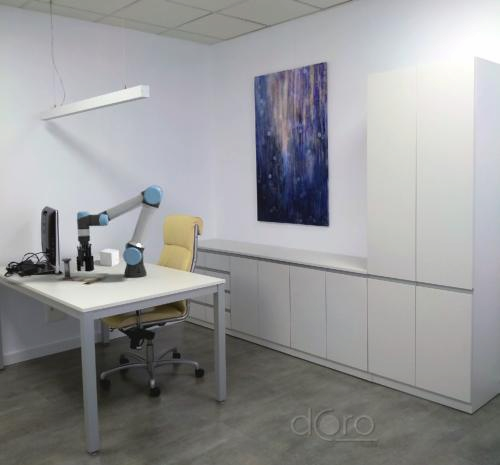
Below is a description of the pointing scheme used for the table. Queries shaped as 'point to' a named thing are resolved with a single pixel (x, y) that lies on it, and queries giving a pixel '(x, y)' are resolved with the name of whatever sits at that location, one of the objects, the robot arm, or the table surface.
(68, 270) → the bobbin
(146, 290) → the table surface
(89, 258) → the electronic device
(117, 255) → the white rectangular block
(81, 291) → the table surface
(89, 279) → the walnut board
